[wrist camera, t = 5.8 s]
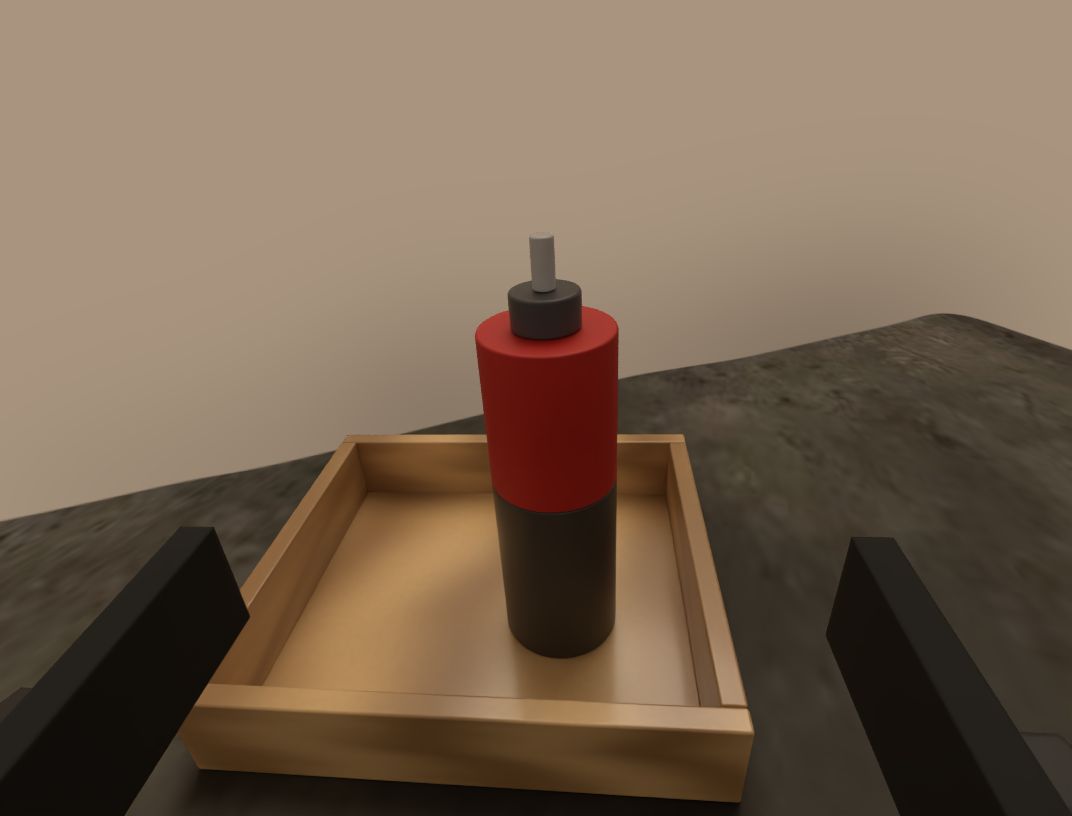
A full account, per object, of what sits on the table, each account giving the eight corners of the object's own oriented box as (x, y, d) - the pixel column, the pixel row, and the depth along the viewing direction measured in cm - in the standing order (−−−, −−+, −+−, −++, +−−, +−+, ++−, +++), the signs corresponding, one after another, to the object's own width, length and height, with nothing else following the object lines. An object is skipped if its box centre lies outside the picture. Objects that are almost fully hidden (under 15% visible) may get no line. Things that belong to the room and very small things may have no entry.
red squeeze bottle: (614, 575, 26) (617, 215, 18) (617, 661, 22) (622, 252, 15) (514, 573, 26) (478, 220, 19) (500, 657, 23) (448, 258, 15)
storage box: (679, 489, 31) (683, 433, 30) (741, 804, 18) (755, 734, 16) (360, 487, 33) (347, 434, 32) (197, 770, 20) (159, 703, 18)
